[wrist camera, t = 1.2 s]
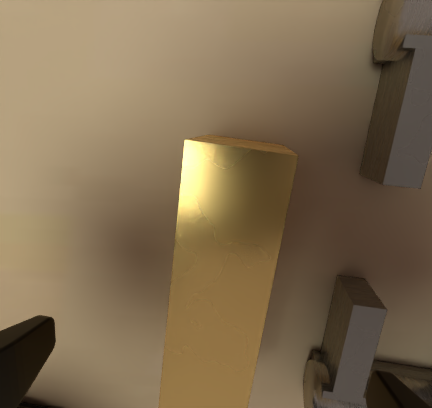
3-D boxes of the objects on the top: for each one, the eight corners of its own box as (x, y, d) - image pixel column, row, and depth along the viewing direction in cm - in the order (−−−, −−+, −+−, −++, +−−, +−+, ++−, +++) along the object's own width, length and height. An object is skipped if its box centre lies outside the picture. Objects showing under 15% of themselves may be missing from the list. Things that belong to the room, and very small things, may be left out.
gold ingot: (245, 345, 16) (241, 436, 12) (185, 334, 17) (157, 417, 12) (282, 144, 13) (298, 155, 9) (209, 134, 14) (184, 139, 9)
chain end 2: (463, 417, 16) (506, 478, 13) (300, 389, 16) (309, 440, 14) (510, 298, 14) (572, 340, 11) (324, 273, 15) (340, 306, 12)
